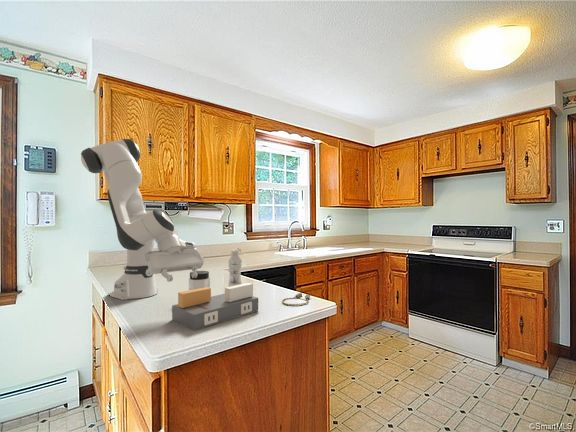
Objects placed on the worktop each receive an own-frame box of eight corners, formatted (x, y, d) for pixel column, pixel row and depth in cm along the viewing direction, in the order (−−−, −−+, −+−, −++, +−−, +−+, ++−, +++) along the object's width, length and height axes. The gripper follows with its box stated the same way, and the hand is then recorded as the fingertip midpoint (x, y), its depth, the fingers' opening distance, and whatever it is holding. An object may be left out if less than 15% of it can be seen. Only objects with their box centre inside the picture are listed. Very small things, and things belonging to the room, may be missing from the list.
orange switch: (178, 306, 102) (178, 292, 102) (206, 299, 110) (206, 287, 110) (182, 308, 100) (182, 294, 100) (210, 301, 108) (210, 288, 108)
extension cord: (320, 301, 127) (320, 297, 127) (293, 309, 117) (293, 304, 117) (301, 296, 136) (301, 291, 136) (274, 302, 126) (274, 297, 126)
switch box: (163, 315, 108) (163, 301, 108) (225, 300, 128) (225, 288, 128) (195, 330, 93) (195, 314, 93) (259, 311, 113) (259, 297, 113)
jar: (210, 296, 135) (210, 270, 135) (209, 301, 127) (209, 273, 127) (189, 297, 133) (189, 271, 133) (187, 302, 125) (187, 274, 125)
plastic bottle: (235, 289, 147) (235, 249, 147) (244, 292, 143) (244, 250, 143) (225, 292, 142) (225, 250, 142) (234, 294, 138) (234, 251, 138)
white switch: (224, 300, 109) (224, 287, 109) (248, 294, 117) (248, 282, 117) (229, 301, 107) (229, 289, 107) (252, 296, 115) (252, 283, 115)
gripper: (145, 246, 105) (156, 277, 98) (198, 243, 120) (211, 269, 113) (141, 257, 109) (151, 288, 101) (193, 253, 123) (205, 280, 116)
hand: (183, 278), depth 107 cm, fingers open, 8 cm apart
